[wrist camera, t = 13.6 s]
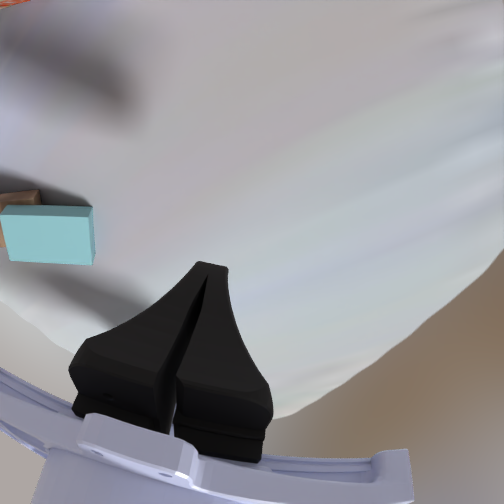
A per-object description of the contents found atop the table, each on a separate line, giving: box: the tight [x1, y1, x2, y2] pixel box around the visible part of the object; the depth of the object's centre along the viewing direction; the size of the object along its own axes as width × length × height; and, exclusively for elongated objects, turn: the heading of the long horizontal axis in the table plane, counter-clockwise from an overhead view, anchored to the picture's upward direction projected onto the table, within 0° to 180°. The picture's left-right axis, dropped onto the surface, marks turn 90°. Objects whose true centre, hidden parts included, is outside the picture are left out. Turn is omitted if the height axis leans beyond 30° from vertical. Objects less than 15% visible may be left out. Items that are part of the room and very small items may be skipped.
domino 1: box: [0, 190, 42, 247], centre depth 22 cm, size 2×5×9 cm
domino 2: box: [0, 205, 95, 265], centre depth 23 cm, size 2×5×9 cm
